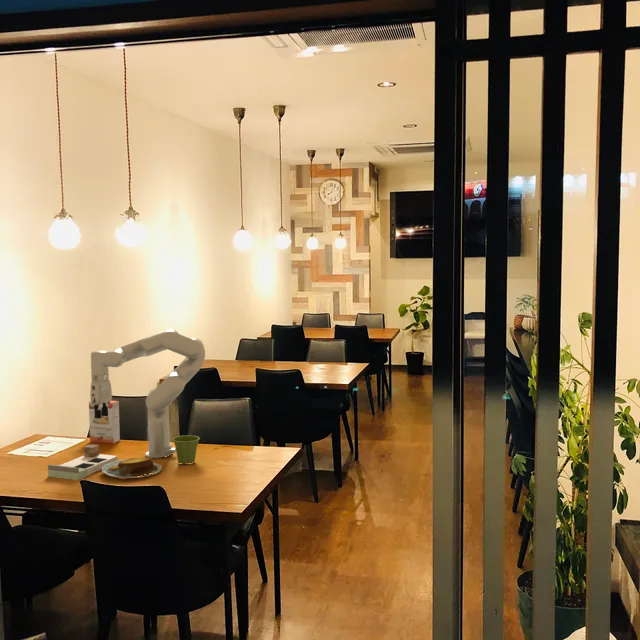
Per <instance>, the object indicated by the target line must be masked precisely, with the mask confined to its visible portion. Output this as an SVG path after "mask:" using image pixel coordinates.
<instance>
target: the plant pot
mask: <svg viewBox="0 0 640 640" xmlns="http://www.w3.org/2000/svg"><path fill="white" fill-rule="evenodd" d="M200 439H201V438H200V437H199V436H198V435H187V434H186V435H179V436H175V437H173V438H172V441H173V443H174V446H175V447H174V448H176V457H177V463H178V464H179V463H182V464H186V463H192V462H194V461H195V460H196V456H197V455H196V454H197V450H198V445H199V440H200ZM195 462H196V461H195ZM195 462H194V463H195Z"/></svg>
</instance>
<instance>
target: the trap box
mask: <svg viewBox="0 0 640 640" xmlns="http://www.w3.org/2000/svg"><path fill="white" fill-rule="evenodd" d="M118 458H119V457H118V455H113V454H112V455H111V454H102V453H101V454H100V453H99V455H98V456H95V457H93V458H91V457H84V455H81V456H79V457H77V458H74V459H72V460H68V461H67V462H64V463H62V464H50V463H49V464H48V465H47V472H48V473H47V474H48V475H47V476H49V478H55V477H56V478H57V479H63V478H64V479H65V480H71V479H72V480H73V481H79V480H81V479H85V477H89V476H90V474H91V475H92V473H93V474H95V473H97V472H99V471H98V470H100V469H101V468H102V466H104V465H106V464H108V463H110V462H115V461H119V460H118ZM96 471H97V472H96ZM100 471H101V470H100ZM94 472H95V473H94Z"/></svg>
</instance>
